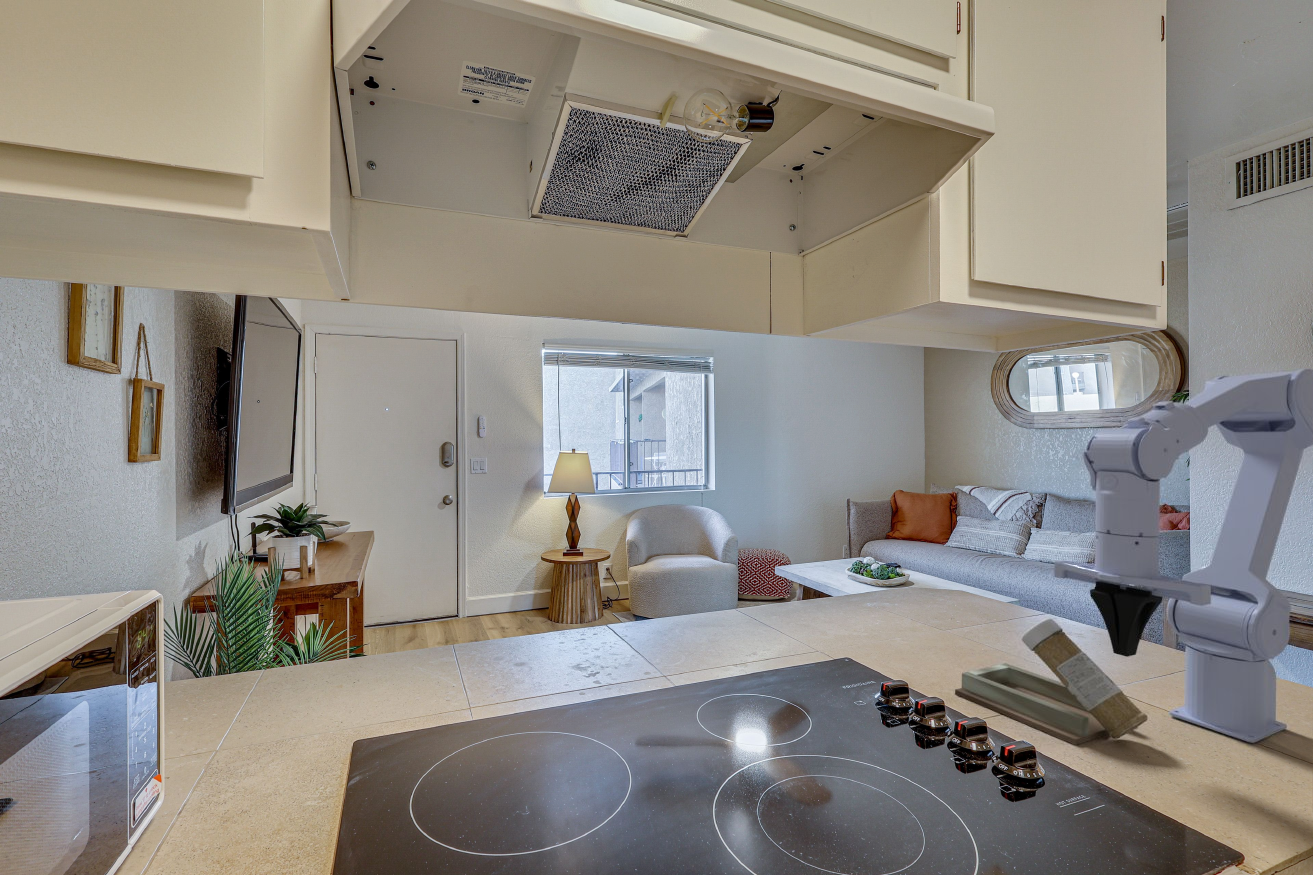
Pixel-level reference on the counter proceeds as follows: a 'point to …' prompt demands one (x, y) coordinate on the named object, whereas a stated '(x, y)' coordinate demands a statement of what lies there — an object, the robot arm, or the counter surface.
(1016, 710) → the bottle rest
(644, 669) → the counter surface
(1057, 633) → the sprinkles bottle
